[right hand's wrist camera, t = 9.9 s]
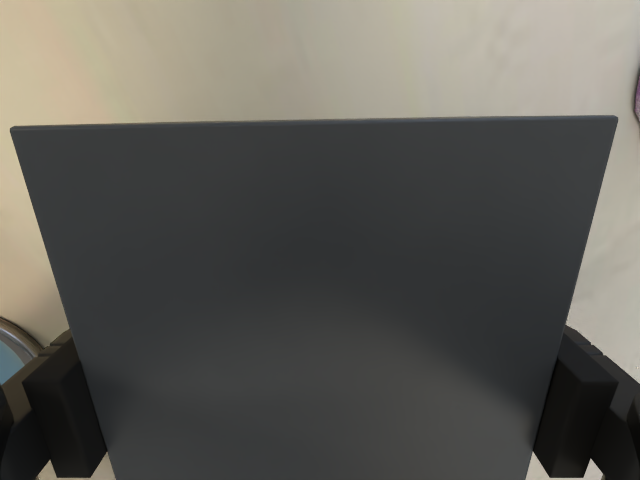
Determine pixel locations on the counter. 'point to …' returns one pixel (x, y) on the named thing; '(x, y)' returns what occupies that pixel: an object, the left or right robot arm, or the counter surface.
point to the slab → (318, 287)
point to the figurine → (638, 100)
